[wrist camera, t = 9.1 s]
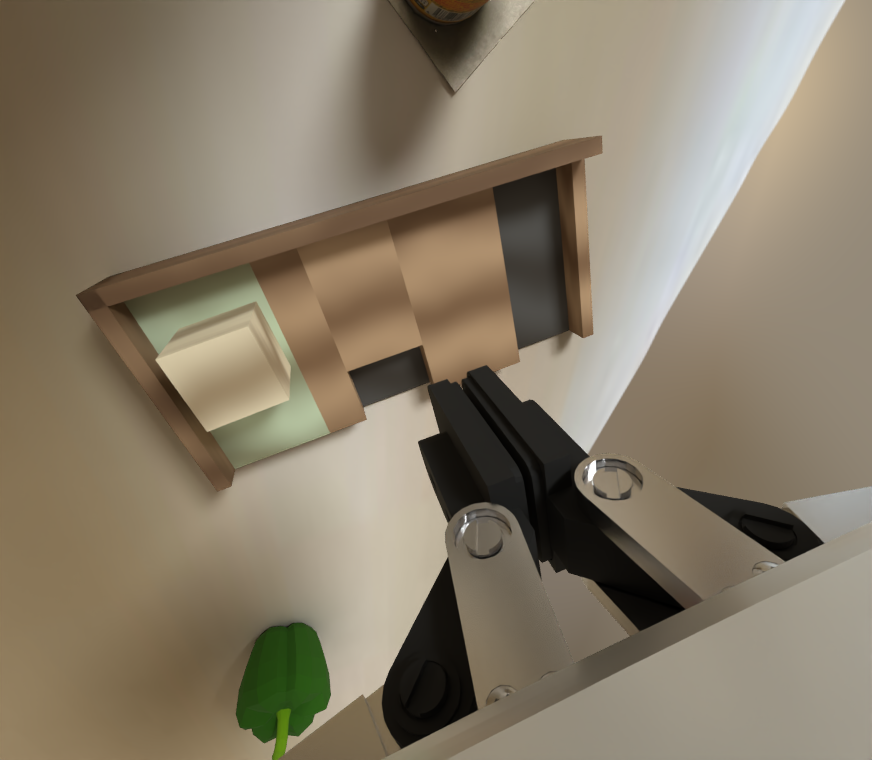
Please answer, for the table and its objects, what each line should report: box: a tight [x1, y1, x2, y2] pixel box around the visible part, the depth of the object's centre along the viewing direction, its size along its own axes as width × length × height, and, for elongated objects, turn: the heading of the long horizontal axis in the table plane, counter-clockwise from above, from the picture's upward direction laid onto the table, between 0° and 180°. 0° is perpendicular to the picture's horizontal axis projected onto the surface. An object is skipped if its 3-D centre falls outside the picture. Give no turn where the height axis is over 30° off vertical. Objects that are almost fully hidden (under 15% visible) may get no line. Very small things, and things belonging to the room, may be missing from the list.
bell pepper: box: [236, 623, 331, 760], centre depth 40 cm, size 8×8×10 cm
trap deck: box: [76, 136, 602, 492], centre depth 30 cm, size 15×32×4 cm, turn 104°
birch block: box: [155, 301, 291, 432], centre depth 25 cm, size 5×5×5 cm
